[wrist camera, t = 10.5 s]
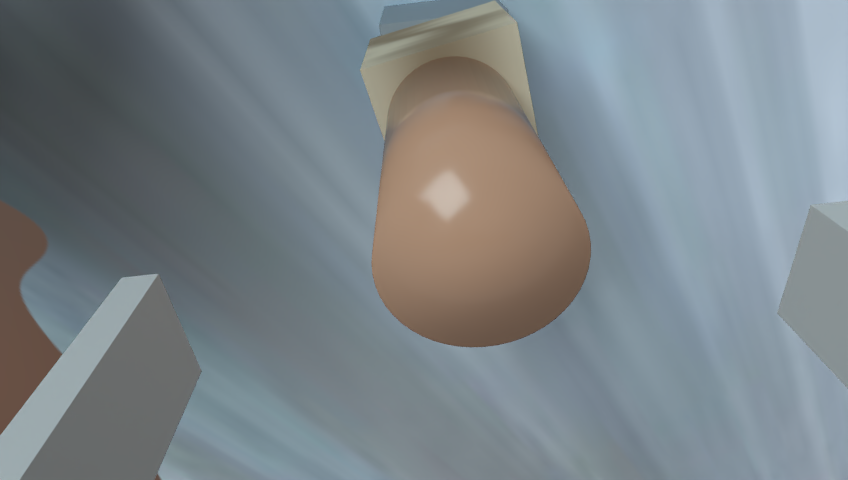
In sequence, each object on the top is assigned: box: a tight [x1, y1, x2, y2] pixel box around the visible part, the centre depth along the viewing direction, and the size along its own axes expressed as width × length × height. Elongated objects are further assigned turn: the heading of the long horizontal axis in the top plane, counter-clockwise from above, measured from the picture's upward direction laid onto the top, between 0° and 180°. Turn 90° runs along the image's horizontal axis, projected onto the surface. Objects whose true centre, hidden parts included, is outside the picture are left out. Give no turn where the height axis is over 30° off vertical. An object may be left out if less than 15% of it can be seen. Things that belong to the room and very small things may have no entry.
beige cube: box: [360, 0, 538, 141], centre depth 24 cm, size 6×6×6 cm
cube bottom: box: [379, 0, 508, 36], centre depth 29 cm, size 6×6×6 cm
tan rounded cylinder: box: [372, 56, 591, 347], centre depth 17 cm, size 5×5×10 cm
